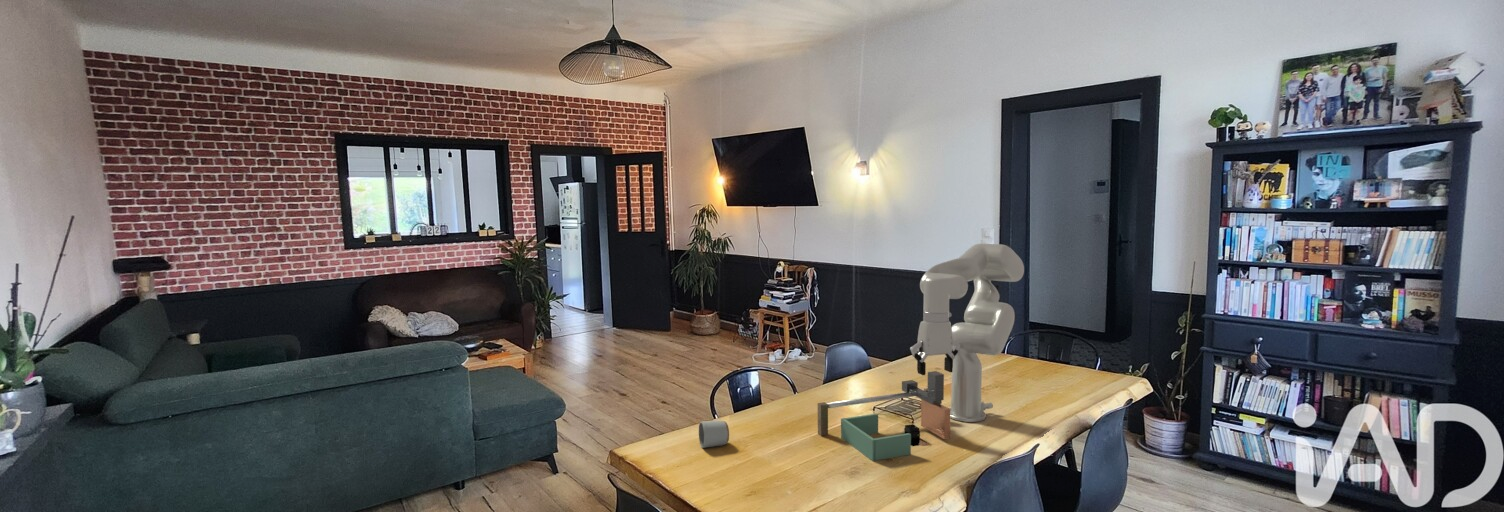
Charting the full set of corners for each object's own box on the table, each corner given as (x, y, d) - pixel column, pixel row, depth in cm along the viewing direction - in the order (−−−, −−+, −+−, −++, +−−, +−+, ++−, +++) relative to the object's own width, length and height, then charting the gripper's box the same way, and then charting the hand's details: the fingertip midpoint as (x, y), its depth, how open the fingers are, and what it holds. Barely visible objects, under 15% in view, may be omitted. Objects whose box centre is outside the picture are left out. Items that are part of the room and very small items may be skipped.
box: (876, 432, 202) (876, 413, 201) (910, 454, 184) (910, 434, 184) (841, 437, 198) (840, 418, 197) (872, 461, 180) (872, 440, 179)
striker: (912, 415, 213) (912, 360, 211) (952, 437, 193) (953, 377, 191) (901, 416, 212) (902, 361, 210) (941, 439, 192) (942, 379, 190)
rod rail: (929, 416, 215) (930, 388, 214) (934, 418, 213) (934, 389, 212) (817, 433, 201) (817, 403, 201) (821, 436, 199) (820, 405, 198)
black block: (933, 447, 191) (933, 432, 190) (912, 450, 189) (912, 435, 188) (911, 432, 203) (911, 418, 202) (890, 435, 200) (890, 421, 200)
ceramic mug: (730, 447, 191) (730, 422, 191) (704, 451, 189) (703, 426, 188) (721, 436, 201) (720, 412, 201) (695, 439, 199) (694, 415, 198)
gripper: (952, 313, 201) (951, 367, 202) (904, 317, 195) (903, 372, 196) (967, 317, 194) (966, 373, 195) (918, 321, 188) (917, 378, 189)
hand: (935, 372), depth 196 cm, fingers open, 9 cm apart
